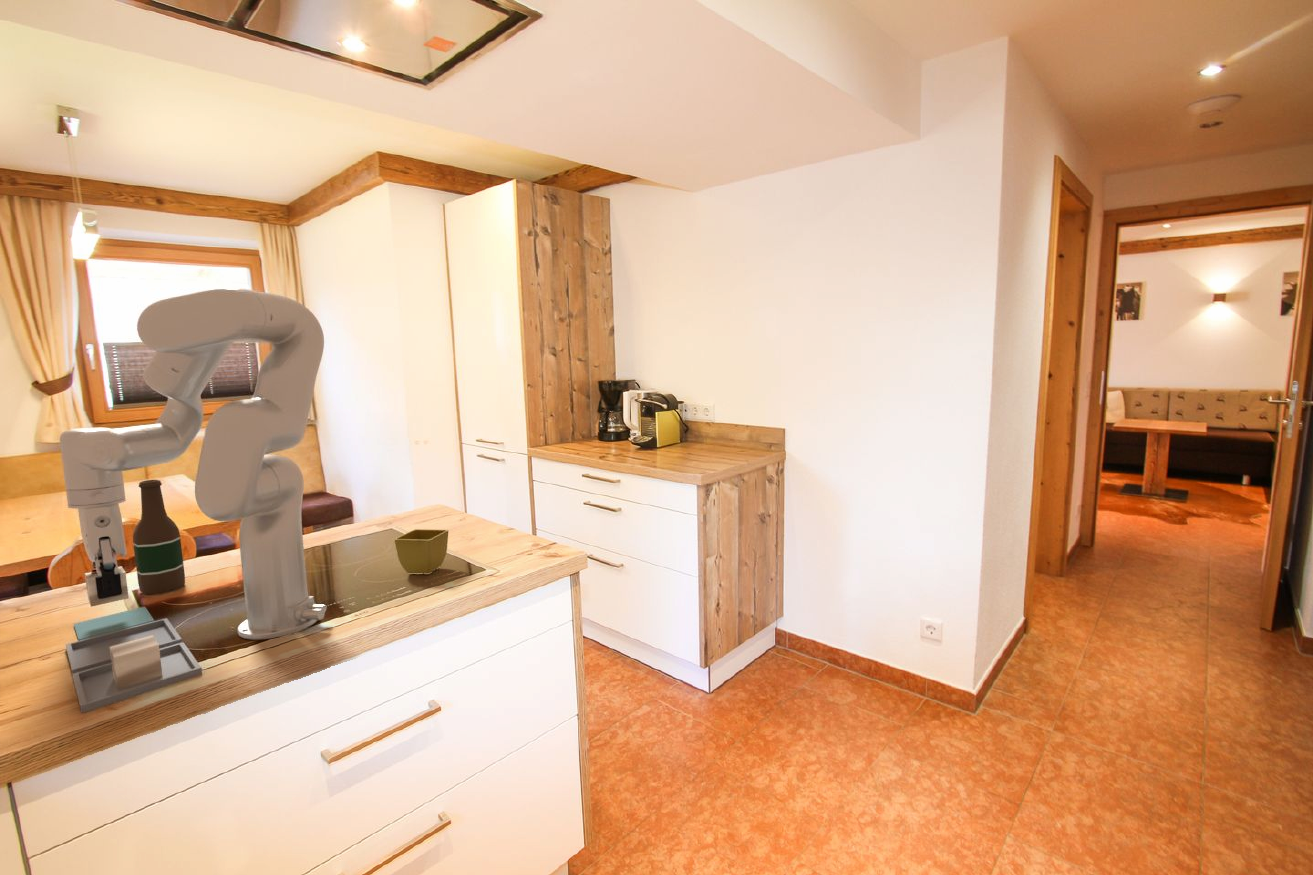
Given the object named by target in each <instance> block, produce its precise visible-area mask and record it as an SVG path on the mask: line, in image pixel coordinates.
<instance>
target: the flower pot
mask: <svg viewBox="0 0 1313 875" xmlns="http://www.w3.org/2000/svg"><path fill="white" fill-rule="evenodd" d="M448 541H449V530H448V529H426V528H425V529H419V528H418V529H417V528H415V529H413V530H410V531H408V532H406V533H404V534H402V535H400V536H398V537H396V538H394V544H395V548H396V553H397V557H398V561H399V562H400V565H401V567H402V568H403V569H404V571H405V572H406V573H407V574H408V573H423V574H424V573H430V572H432V571H433V570H434V569H437V568H438V567H439V566H440V567H442V565H443V563H444V560H445V557H446V555H447V551H448ZM437 570H438V569H437Z"/></svg>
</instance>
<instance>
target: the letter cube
mask: <svg viewBox="0 0 1313 875" xmlns="http://www.w3.org/2000/svg"><path fill="white" fill-rule="evenodd" d="M118 573H120V578H121V587H122V594H121V595H117V596H112V597H108V598H103V599H99V598H98V596H97V588H96V579H95V577H97V571H95V572H92V571H90V572H86V573H84V578H85V583H86V584H85V586H86V593H87V600H88V602H89V605H90V608H92V607H96V606H100V605H106V604H110V603H113V602H118V601H122V600H127V599H129V592H128V591H129V589H128V582H127V581H128V580H127V574H126V571H125V569H124V568H123V566H118Z"/></svg>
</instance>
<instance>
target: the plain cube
mask: <svg viewBox="0 0 1313 875" xmlns="http://www.w3.org/2000/svg"><path fill="white" fill-rule="evenodd" d="M110 654H111V661H112V669H113V676H114V680H115V682H116V685H117V688H118V690H119V689H122V688H125V687H128V686H131V685H135V684H138V683H141V682H144V681H147V680H151V679H154V678H157V677H160V676H163V675H162V667H161V659H160V651H159V644H158V643H157V641H156V640H155V638H154V636H153V635H152V636H148V637H144V638H141V639H137V640H133V641H130V642H126V643H122V644H119V645H115V646H111V647H110Z"/></svg>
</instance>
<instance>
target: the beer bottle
mask: <svg viewBox="0 0 1313 875" xmlns="http://www.w3.org/2000/svg"><path fill="white" fill-rule="evenodd" d="M162 485H163V484H162V482H161V480H159V479H146V480H142V481H140V482H139V484H138V487H139V488H140V498H141V500H140V502H141V514H140V515H141V516H140V517H141V518H140V520H139V521H138V523H137V524H136V526H135V528H134V531H133V534H132V546H133V551H134V552H133V553H134V559H135V560H134V562H135V567H136V576H137V582H138V589H139V592H140V593H141V592H142V593H141V594H143V595H145V596H150V595H152V596H153V595H161V594H165V593H169V592H173V591H177V590H179V589H180V588H182V587H183V586H185V585H186V576H185V566H184V565H185V564H184V558H183V556H184V555H183V549H182V548H183V547H182V542H181V535H180V530H179V528H178V526H177V524H176V523H175V521H173V519H171V517H169V516H168V513H167V511H166V508H165V503H164V498H163V493H162V489H161V486H162Z"/></svg>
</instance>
